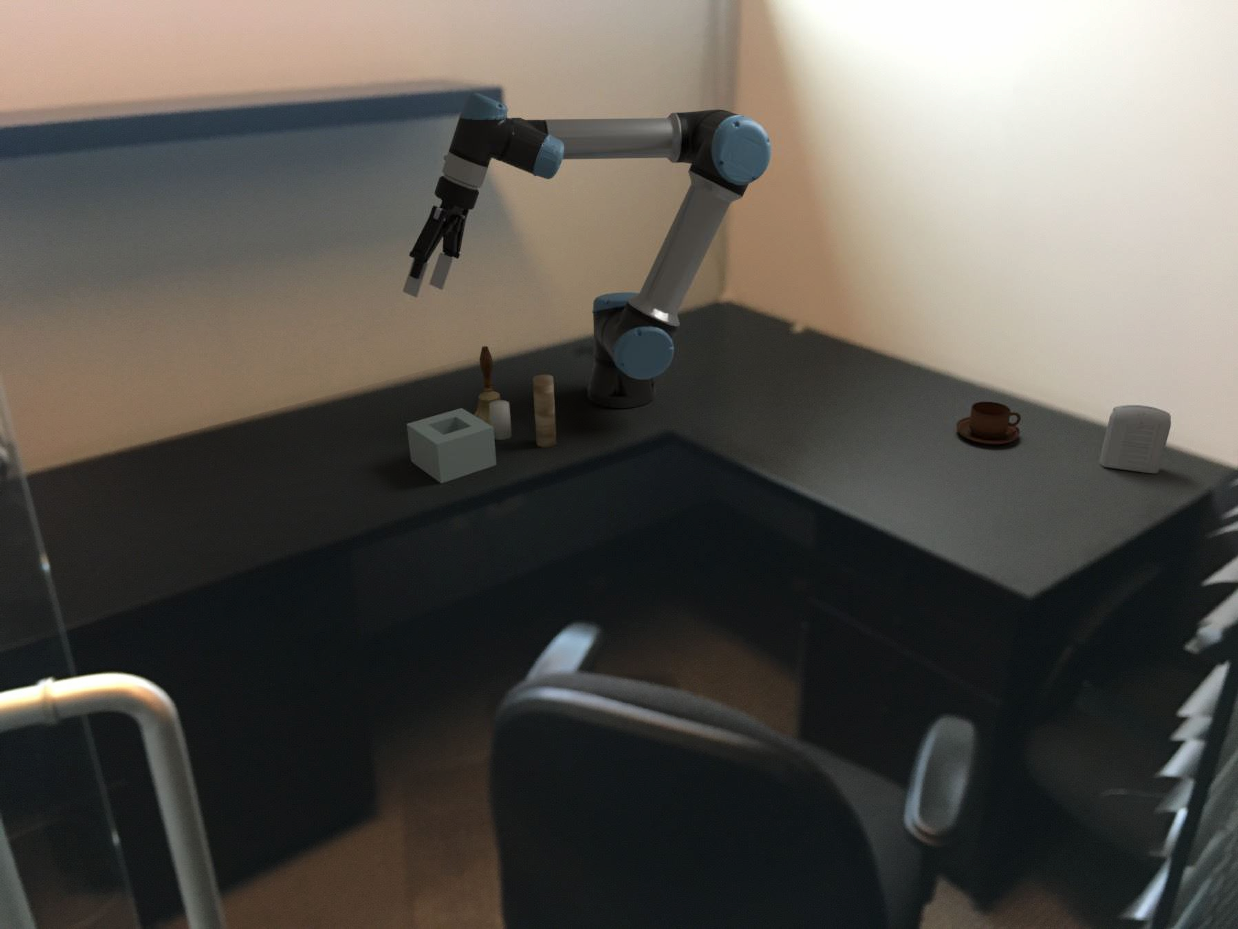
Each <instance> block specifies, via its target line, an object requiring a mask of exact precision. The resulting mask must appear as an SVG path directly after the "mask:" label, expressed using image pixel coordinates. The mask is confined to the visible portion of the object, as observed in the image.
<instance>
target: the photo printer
mask: <svg viewBox="0 0 1238 929" xmlns="http://www.w3.org/2000/svg"><path fill="white" fill-rule="evenodd" d="M1170 413H1171V412H1167V411H1166V410H1163V409H1160V408H1157V407H1154V406H1148V405H1143V404H1142V405H1140V404H1126V405H1119V406H1114V407H1113V409H1112V412H1111V413H1110V415H1109V418H1108V421H1107V422H1108V423H1107V427H1106V431H1105V436H1104V440H1103V444H1102V449H1101V453H1100V457H1099V460H1098V461H1099V464H1100V466H1102V467H1105V468H1110V469H1117V470H1125V471H1131V472H1139V473H1147V474H1148V473H1149V474H1157V473H1159V471H1160V469H1161V465H1162V464H1161V463H1162V461H1163V457H1164V453H1165V449H1166V445H1167V441H1168V437H1169V434H1170V429H1171V427H1172V420H1171V419H1172V418H1171V414H1170Z"/></svg>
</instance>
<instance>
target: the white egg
mask: <svg viewBox="0 0 1238 929" xmlns="http://www.w3.org/2000/svg"><path fill="white" fill-rule="evenodd" d="M489 408H490V420H491V426H492V427H493V428H494V440H497V441H498V440H499V441H501V440H507V439H510V438H511V437H512V422H511V418H510V415H511V412H510V411H511V409H510V402H509V401H507V400H503V399H502V400H498V401H493V402H491V403H490V404H489Z"/></svg>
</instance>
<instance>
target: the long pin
mask: <svg viewBox="0 0 1238 929" xmlns="http://www.w3.org/2000/svg"><path fill="white" fill-rule="evenodd" d="M554 382H555V381H554V376H553V375H550V374H537V375H534V376H533V378H532V389H533V405H534V407H533V408H534V419H535V420H534V422H535V423H534V425H535V440H536V445H537V446H538V447H540V448H546V449H547V448H552V447H554V445H555V446H557V428H556V427H557V426H556V407H555V406H556V405H555V384H554Z"/></svg>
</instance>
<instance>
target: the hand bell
mask: <svg viewBox="0 0 1238 929" xmlns="http://www.w3.org/2000/svg"><path fill="white" fill-rule="evenodd" d="M480 351H481V352H480V356H479V366H480V371H481V372H482V376H483V384H484V385H483V389H484V391H483V392H481V393H480V394H479V395H478V403H477V408H476V411H475V412H474V413H473V415H474V416H476V417H477V418H479V419H481V420H482V421H484V422H486V423H487V424H489V425H491V420H490V408H489V404H490V403H491V402H493V401H498V400H501V397H500V396H501V395H500V393H499V392H497V391H494V390H493V382H492V371H493V358H492V357H493V356H492V353H491V352H490V349H489V347H488V346H487V345H486V346H485V345H484V346H482V347H481V350H480ZM511 416H512V415H511V414H510V419H511Z"/></svg>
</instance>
